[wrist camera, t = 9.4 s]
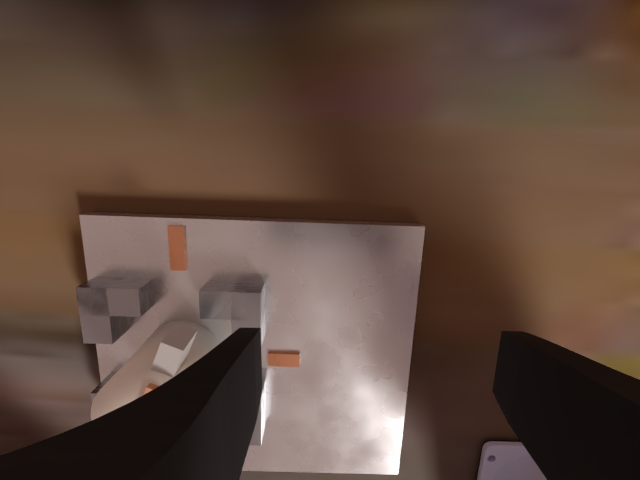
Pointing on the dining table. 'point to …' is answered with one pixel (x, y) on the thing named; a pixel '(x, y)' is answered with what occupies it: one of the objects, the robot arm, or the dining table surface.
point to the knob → (154, 364)
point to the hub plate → (272, 320)
